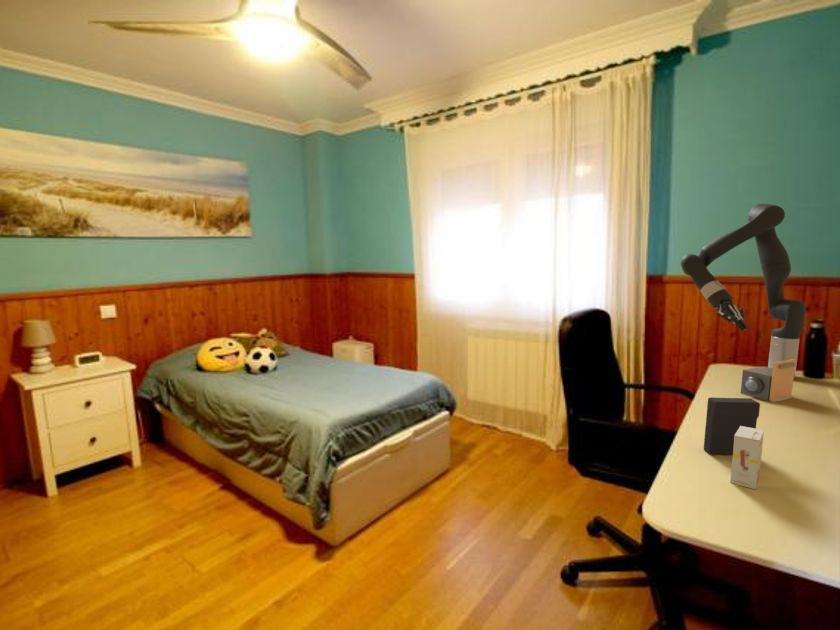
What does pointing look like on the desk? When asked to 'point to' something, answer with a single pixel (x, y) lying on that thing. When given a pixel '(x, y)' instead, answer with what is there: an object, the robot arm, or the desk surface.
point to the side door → (782, 380)
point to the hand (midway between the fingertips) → (745, 329)
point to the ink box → (747, 456)
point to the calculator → (727, 422)
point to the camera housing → (757, 382)
